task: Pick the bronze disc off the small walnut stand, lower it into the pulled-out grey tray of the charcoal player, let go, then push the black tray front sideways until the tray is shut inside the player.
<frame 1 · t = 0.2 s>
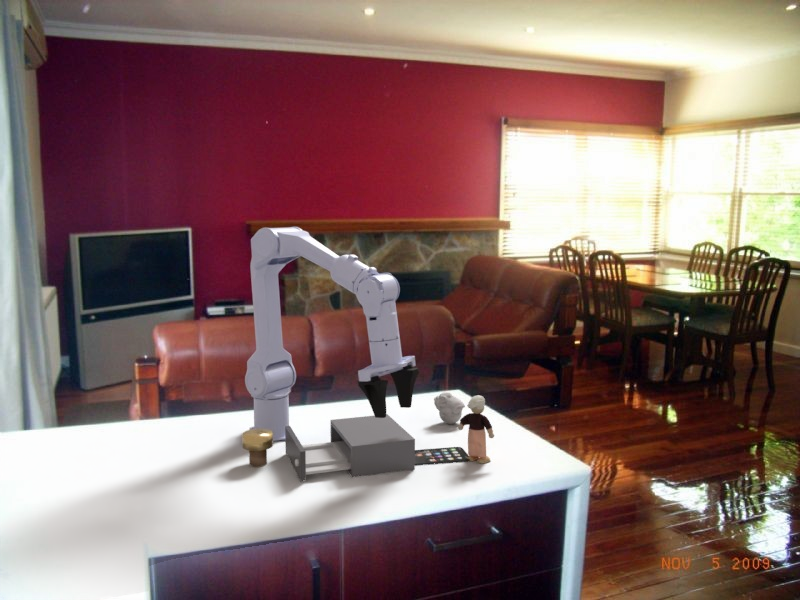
hand: (393, 412, 128), 11 cm above the kitchen counter, tool pointing down, fingers open, 7 cm apart
smartphone: (429, 459, 134), on the kitchen counter
housing: (370, 458, 133), on the kitchen counter
stand: (258, 463, 130), on the kitchen counter
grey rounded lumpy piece: (449, 424, 155), on the kitchen counter
disc: (257, 445, 130), point 3 cm above the kitchen counter, touching stand
tray: (322, 448, 130), point 3 cm above the kitchen counter, slide at 8.0 cm
grandmother figurine: (475, 460, 133), on the kitchen counter
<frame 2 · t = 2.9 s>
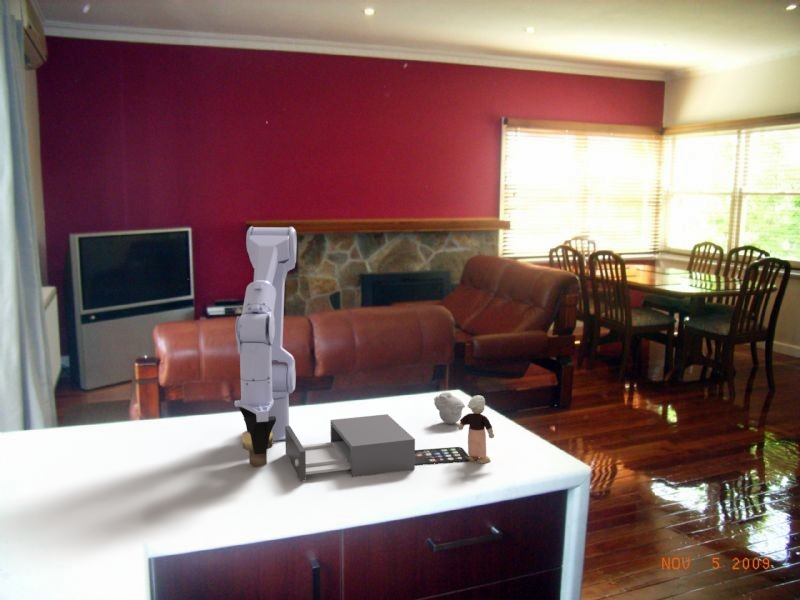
hand: (257, 447, 130), 3 cm above the kitchen counter, tool pointing down, fingers closed on disc, 6 cm apart
disc: (257, 445, 130), point 3 cm above the kitchen counter, touching gripper, stand
everything else where it was.
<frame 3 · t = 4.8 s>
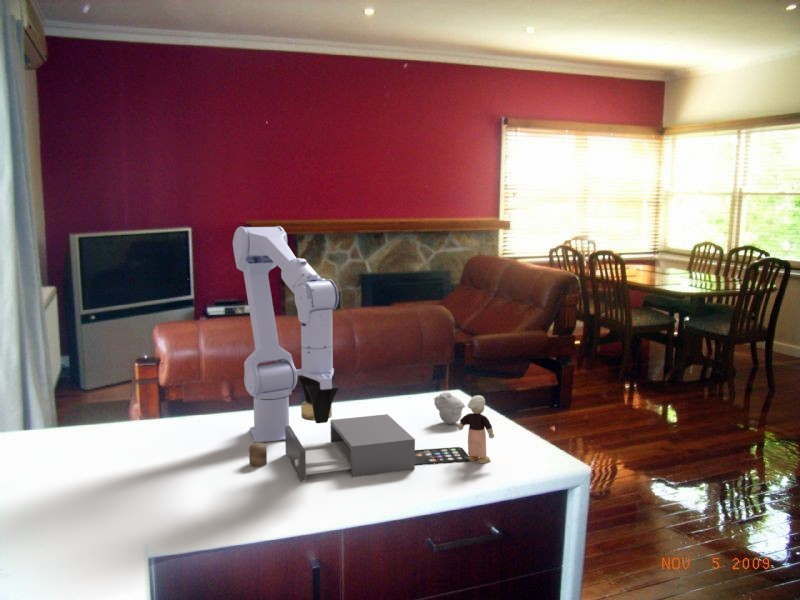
hand: (317, 417, 129), 9 cm above the kitchen counter, tool pointing down, fingers closed on disc, 6 cm apart
disc: (316, 416, 128), point 9 cm above the kitchen counter, touching gripper
everything else where it was.
when the fingers open (3 cm above the kitchen counter, at t = 6.8 s): disc drops 1 cm, resting on tray.
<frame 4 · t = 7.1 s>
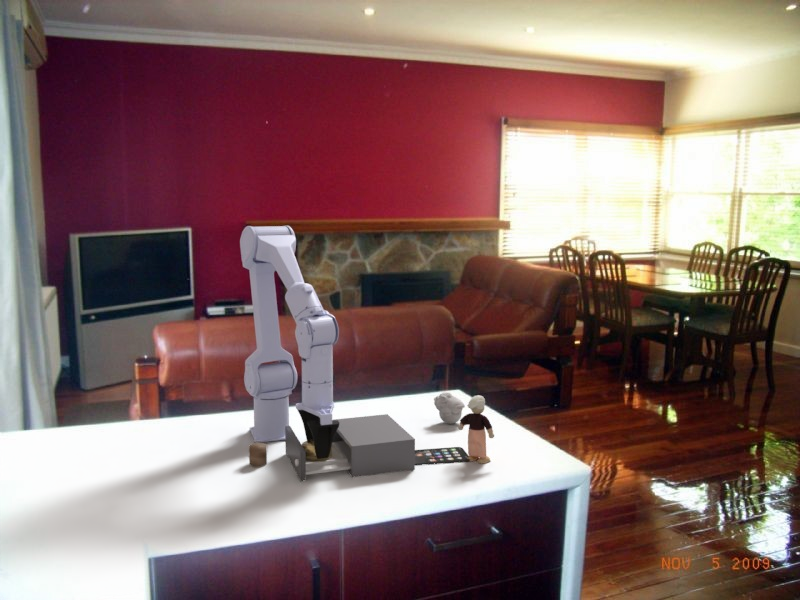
hand: (318, 450, 129), 3 cm above the kitchen counter, tool pointing down, fingers open, 7 cm apart
disc: (316, 456, 130), point 2 cm above the kitchen counter, touching tray
tray: (322, 448, 130), point 3 cm above the kitchen counter, slide at 8.0 cm, touching disc
everything else where it was.
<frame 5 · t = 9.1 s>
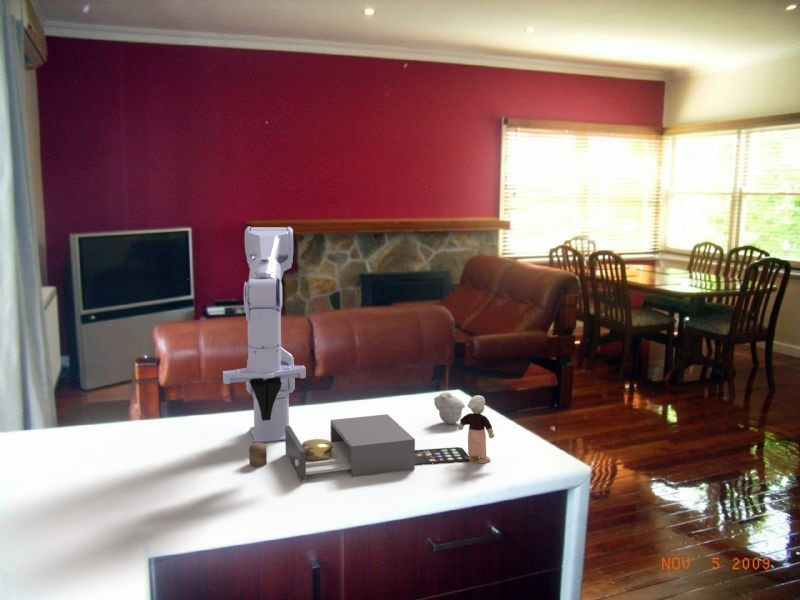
hand: (265, 418, 125), 10 cm above the kitchen counter, tool pointing down, fingers closed
nothing on the kitchen counter moved.
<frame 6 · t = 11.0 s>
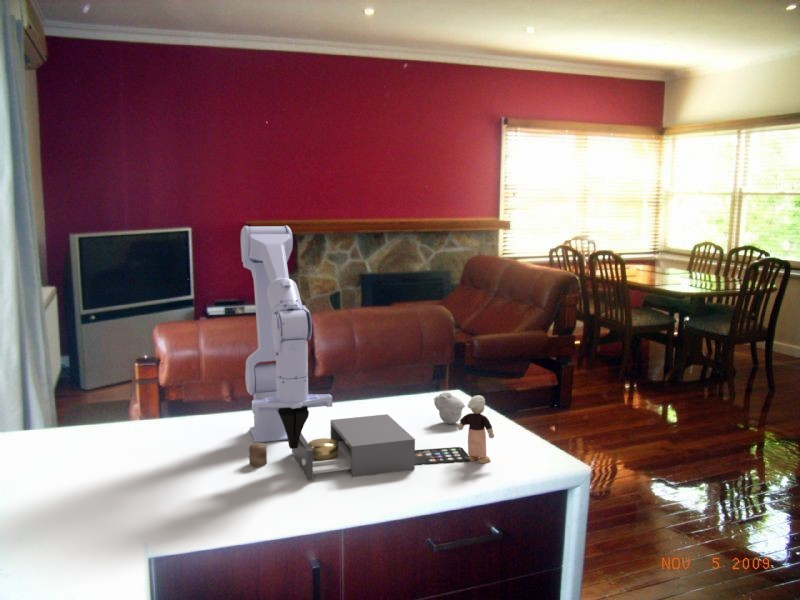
hand: (293, 446, 128), 4 cm above the kitchen counter, tool pointing down, fingers closed
disc: (323, 455, 130), point 2 cm above the kitchen counter, touching tray
tray: (328, 448, 130), point 3 cm above the kitchen counter, slide at 6.7 cm, touching disc, gripper
everything else where it was.
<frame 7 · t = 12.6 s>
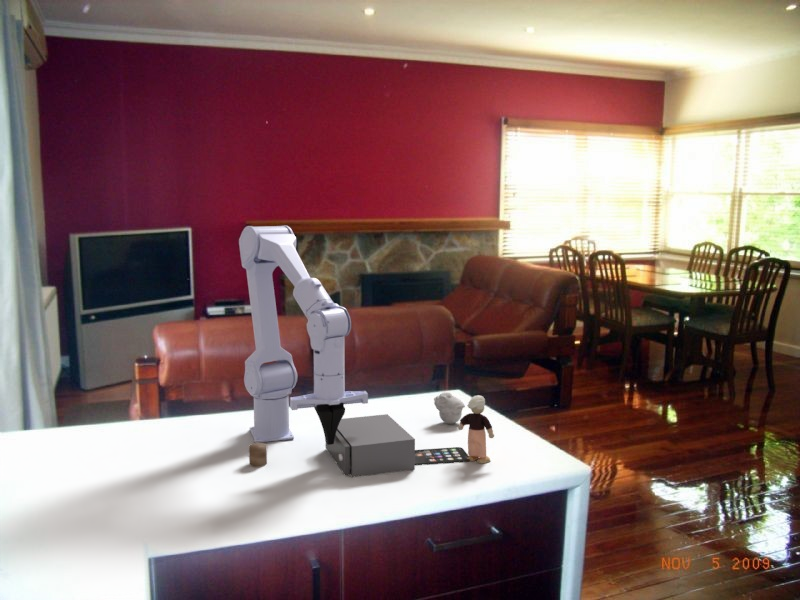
hand: (329, 442, 130), 4 cm above the kitchen counter, tool pointing down, fingers closed
disc: (358, 451, 132), point 2 cm above the kitchen counter, touching tray
tray: (363, 444, 132), point 3 cm above the kitchen counter, slide at 0.0 cm, touching disc, gripper
everything else where it was.
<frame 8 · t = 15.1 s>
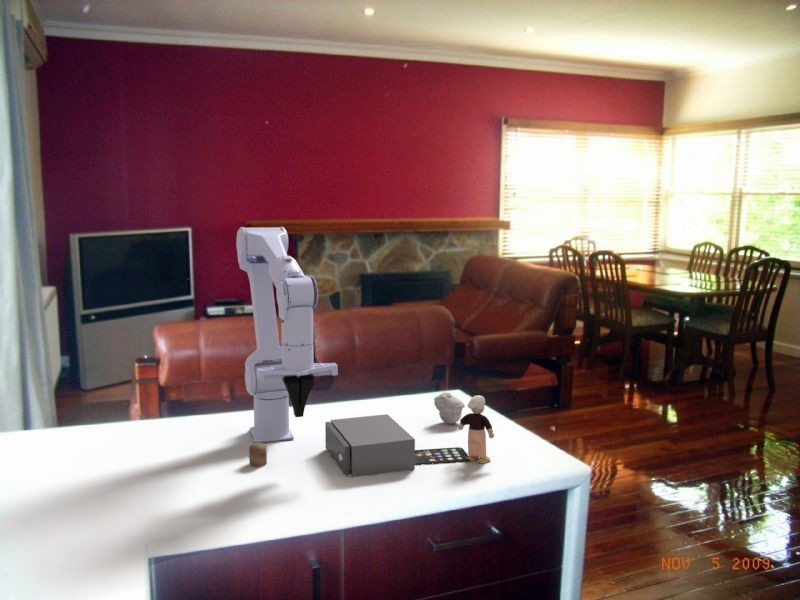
hand: (298, 415, 127), 10 cm above the kitchen counter, tool pointing down, fingers closed
tray: (363, 444, 132), point 3 cm above the kitchen counter, slide at 0.0 cm, touching disc
everything else where it was.
at the end: tray slide at 0.0 cm; disc inside the target area on the housing (2.6 cm from its centre), point 1.6 cm above the housing's base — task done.
